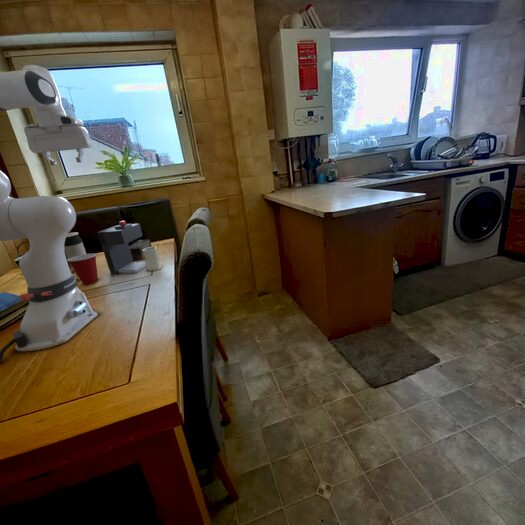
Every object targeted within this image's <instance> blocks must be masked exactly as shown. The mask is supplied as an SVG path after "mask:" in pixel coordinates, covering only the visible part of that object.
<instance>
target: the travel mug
mask: <svg viewBox="0 0 525 525" xmlns="http://www.w3.org/2000/svg"><path fill="white" fill-rule="evenodd" d="M64 249H65V252H66V255H67V257H68V259H69V258H71V257H75V256H79V255H84V254H87V252H86V248H85V246H84V243H83V241H82V238H81V237H80V236H79V232H69V233H68V234H67V236H66V239H65V244H64ZM70 265H71V264H70ZM70 268H71V272H75V270H74V269H73V267H72V266H71V267H70Z"/></svg>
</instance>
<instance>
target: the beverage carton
mask: <svg viewBox="0 0 525 525" xmlns="http://www.w3.org/2000/svg"><path fill="white" fill-rule="evenodd" d="M148 247H153V245H152V243H151V239H137V240H136V241H135V242H134V243H132V244H131V245H129V248H130V251H131V255H132V258H133V261H138V260H142V259H145V258H144V254H143V251H142V250H143V249H145V248H148Z"/></svg>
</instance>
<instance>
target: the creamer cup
mask: <svg viewBox="0 0 525 525" xmlns="http://www.w3.org/2000/svg"><path fill="white" fill-rule="evenodd" d="M142 251H143V254H144V258H143V259H144V262H146V265H147V266H146V268H147V271H150V272H152V271H153V272H154V271H157V270H160V269H162V263H161V260H160V255H159V252H158V248H157V247H156V246H152V247H148V248H145V249H143V250H142Z"/></svg>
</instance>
